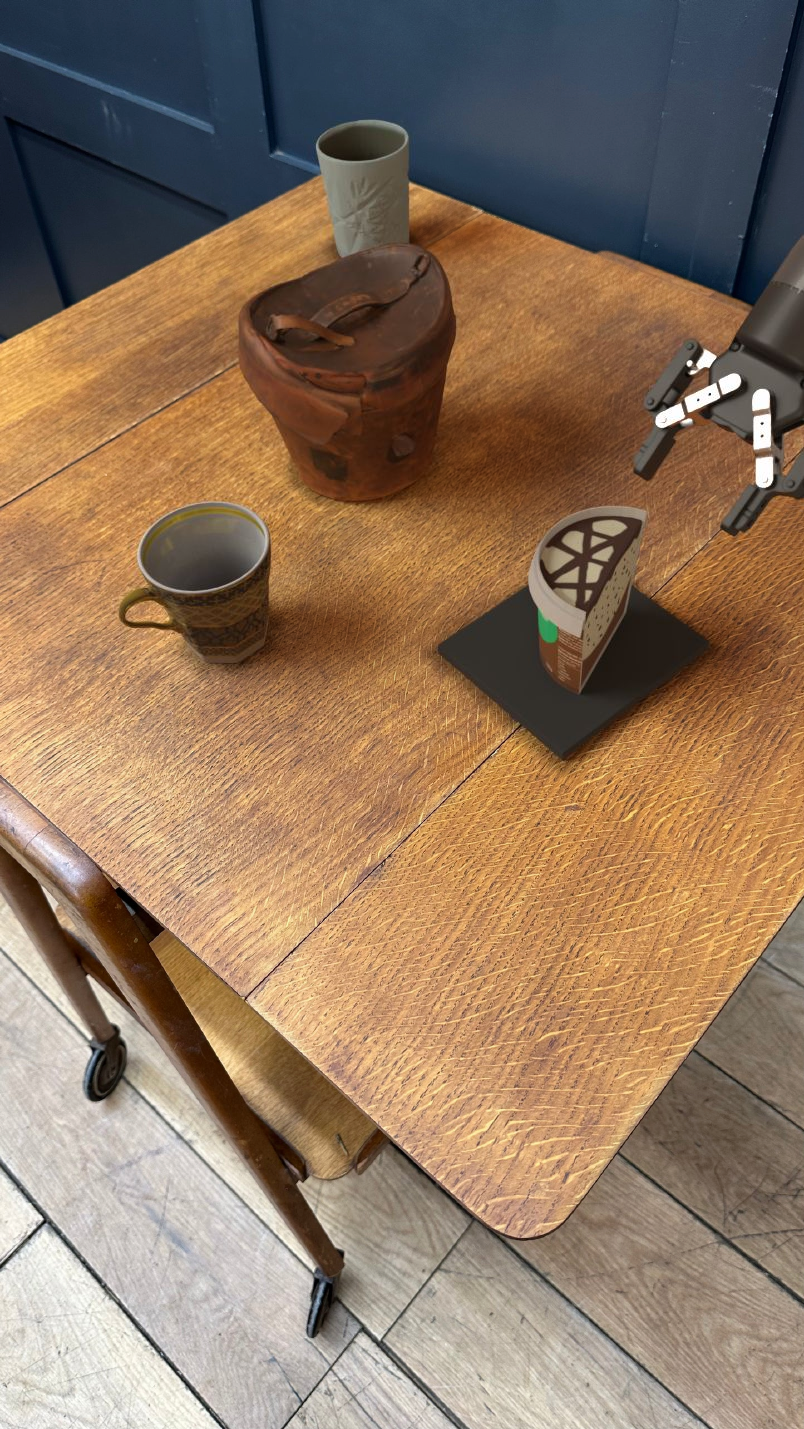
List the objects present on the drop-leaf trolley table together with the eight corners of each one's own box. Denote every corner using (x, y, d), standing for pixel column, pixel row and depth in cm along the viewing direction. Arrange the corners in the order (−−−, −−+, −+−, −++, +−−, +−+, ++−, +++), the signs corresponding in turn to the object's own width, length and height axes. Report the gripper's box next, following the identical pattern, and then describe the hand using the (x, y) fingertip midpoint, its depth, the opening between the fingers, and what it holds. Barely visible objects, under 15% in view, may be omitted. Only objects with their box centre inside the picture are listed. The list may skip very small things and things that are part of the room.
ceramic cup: (242, 573, 89) (219, 482, 81) (313, 635, 84) (296, 545, 76) (114, 652, 84) (76, 564, 76) (182, 723, 79) (150, 637, 71)
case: (225, 504, 94) (181, 329, 80) (325, 381, 105) (302, 207, 91) (400, 555, 89) (387, 376, 75) (487, 420, 100) (490, 241, 86)
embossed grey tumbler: (419, 263, 118) (415, 155, 108) (332, 274, 118) (319, 166, 108) (407, 220, 124) (401, 113, 115) (324, 230, 124) (311, 124, 114)
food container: (562, 576, 85) (572, 482, 77) (632, 601, 83) (649, 506, 75) (496, 679, 79) (499, 588, 71) (571, 708, 77) (582, 617, 69)
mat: (580, 557, 88) (581, 549, 87) (708, 649, 81) (710, 641, 80) (437, 652, 82) (437, 644, 81) (562, 760, 75) (563, 752, 75)
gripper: (720, 246, 73) (592, 448, 78) (894, 327, 66) (742, 543, 71) (752, 287, 79) (632, 471, 85) (915, 365, 72) (773, 561, 78)
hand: (682, 504), depth 78 cm, fingers open, 8 cm apart
